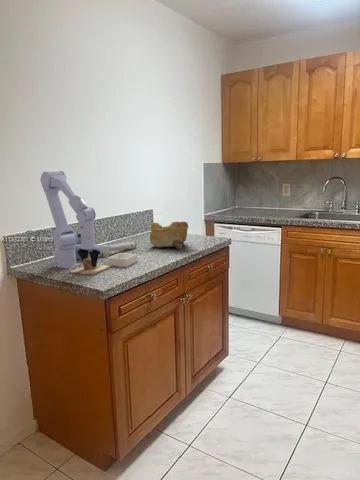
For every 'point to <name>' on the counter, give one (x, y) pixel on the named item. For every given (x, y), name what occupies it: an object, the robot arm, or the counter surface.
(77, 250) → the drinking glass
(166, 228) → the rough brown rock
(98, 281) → the counter surface
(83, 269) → the lid
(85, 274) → the mat
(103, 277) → the counter surface
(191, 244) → the counter surface
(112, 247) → the toothpaste tube
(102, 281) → the counter surface
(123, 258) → the dish
